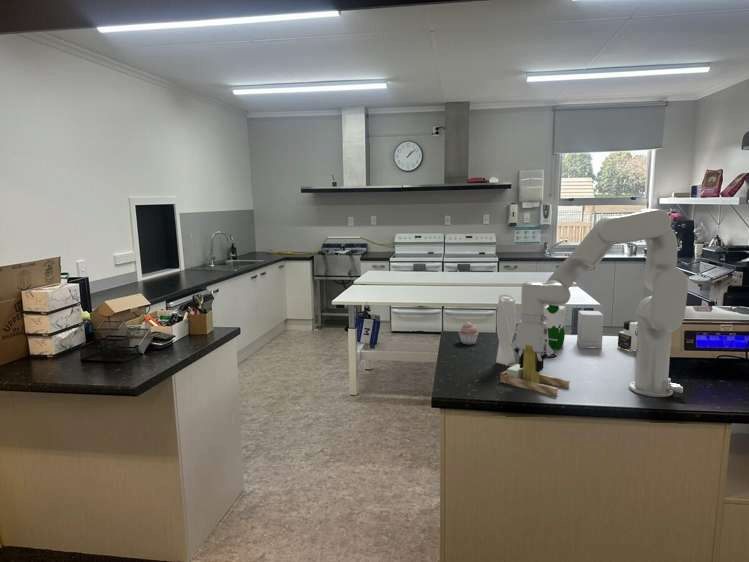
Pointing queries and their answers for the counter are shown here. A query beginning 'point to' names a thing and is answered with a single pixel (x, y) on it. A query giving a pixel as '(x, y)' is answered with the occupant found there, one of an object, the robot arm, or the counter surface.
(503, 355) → the skyscraper
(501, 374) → the track
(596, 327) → the supplement box
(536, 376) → the vase
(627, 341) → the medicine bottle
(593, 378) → the counter surface
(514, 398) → the counter surface
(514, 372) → the block
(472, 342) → the cupcake
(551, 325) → the milk carton
